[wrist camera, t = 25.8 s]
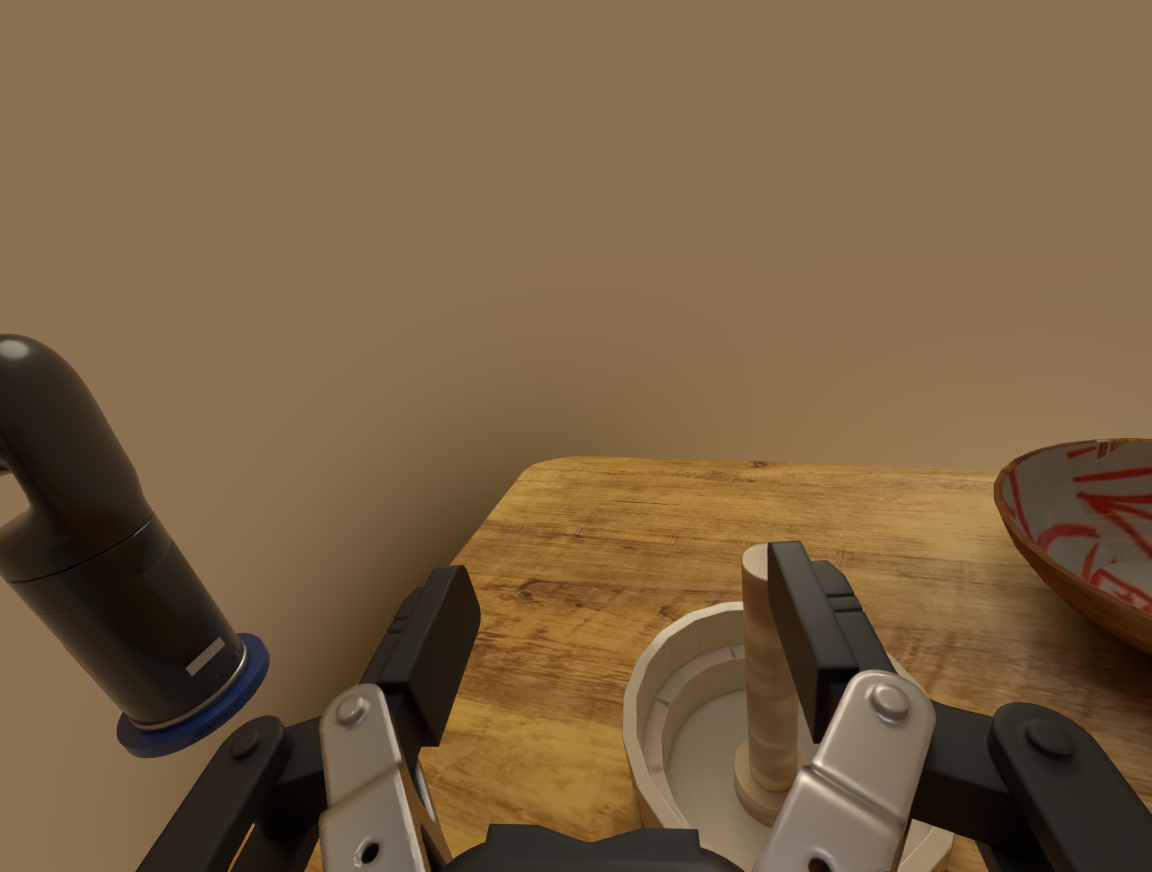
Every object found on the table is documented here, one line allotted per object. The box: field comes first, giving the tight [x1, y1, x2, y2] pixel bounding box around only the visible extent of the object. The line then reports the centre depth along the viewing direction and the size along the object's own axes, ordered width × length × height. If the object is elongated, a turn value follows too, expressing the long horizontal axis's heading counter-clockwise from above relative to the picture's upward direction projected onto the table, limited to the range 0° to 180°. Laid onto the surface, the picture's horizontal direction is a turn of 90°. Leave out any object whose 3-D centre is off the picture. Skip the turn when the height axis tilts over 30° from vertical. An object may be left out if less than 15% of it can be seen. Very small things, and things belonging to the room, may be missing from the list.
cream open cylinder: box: [623, 601, 955, 872], centre depth 29 cm, size 17×17×8 cm
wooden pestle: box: [734, 543, 810, 828], centre depth 26 cm, size 4×4×18 cm
